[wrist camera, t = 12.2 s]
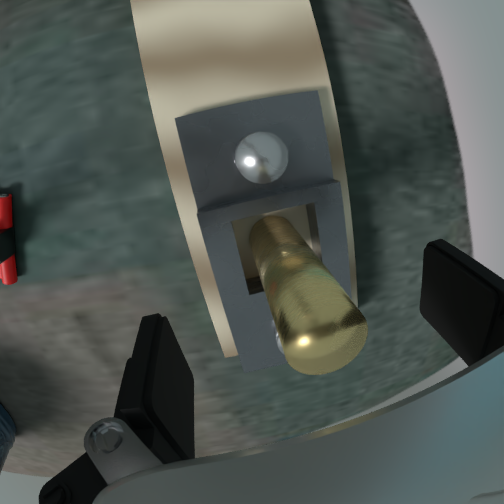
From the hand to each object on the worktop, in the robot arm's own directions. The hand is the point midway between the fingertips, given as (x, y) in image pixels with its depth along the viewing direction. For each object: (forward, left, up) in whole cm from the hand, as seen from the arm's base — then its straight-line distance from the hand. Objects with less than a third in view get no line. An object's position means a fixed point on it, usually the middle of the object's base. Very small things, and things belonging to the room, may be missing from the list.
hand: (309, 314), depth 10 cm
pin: (+1, 0, -9) cm, 9 cm away
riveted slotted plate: (+1, 0, -9) cm, 9 cm away
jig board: (-4, 0, -10) cm, 11 cm away
